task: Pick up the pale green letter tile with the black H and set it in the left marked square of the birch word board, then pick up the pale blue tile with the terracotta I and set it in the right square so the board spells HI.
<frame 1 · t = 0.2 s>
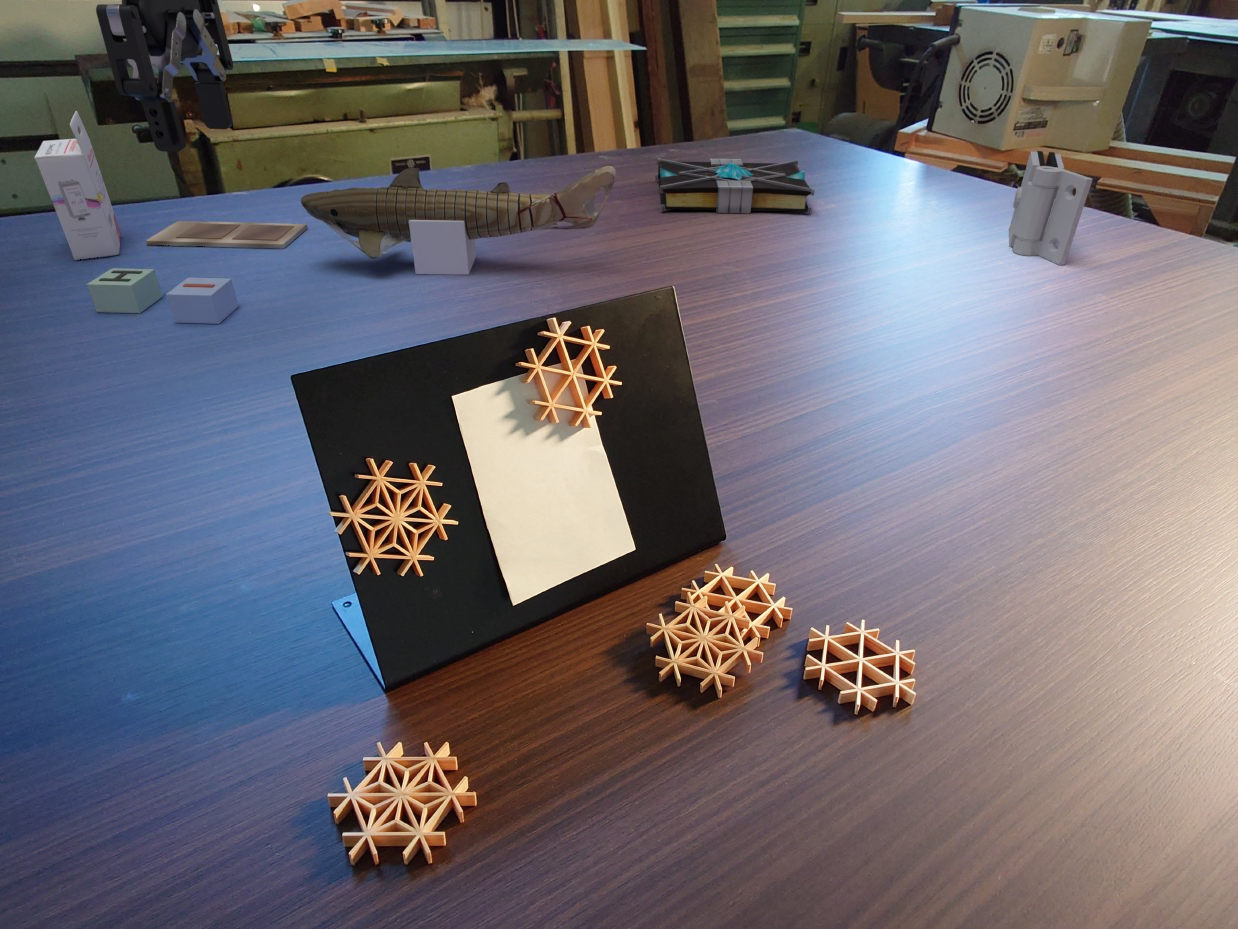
hand: (197, 138, 69), 18 cm above the table, tool pointing down, fingers open, 8 cm apart
ink cartridge box: (98, 249, 98), on the table
hinge: (1033, 247, 102), on the table
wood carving: (465, 266, 94), on the table
word board: (229, 236, 102), on the table
book: (729, 199, 119), on the table
tile I: (207, 314, 81), on the table
tile H: (130, 304, 83), on the table
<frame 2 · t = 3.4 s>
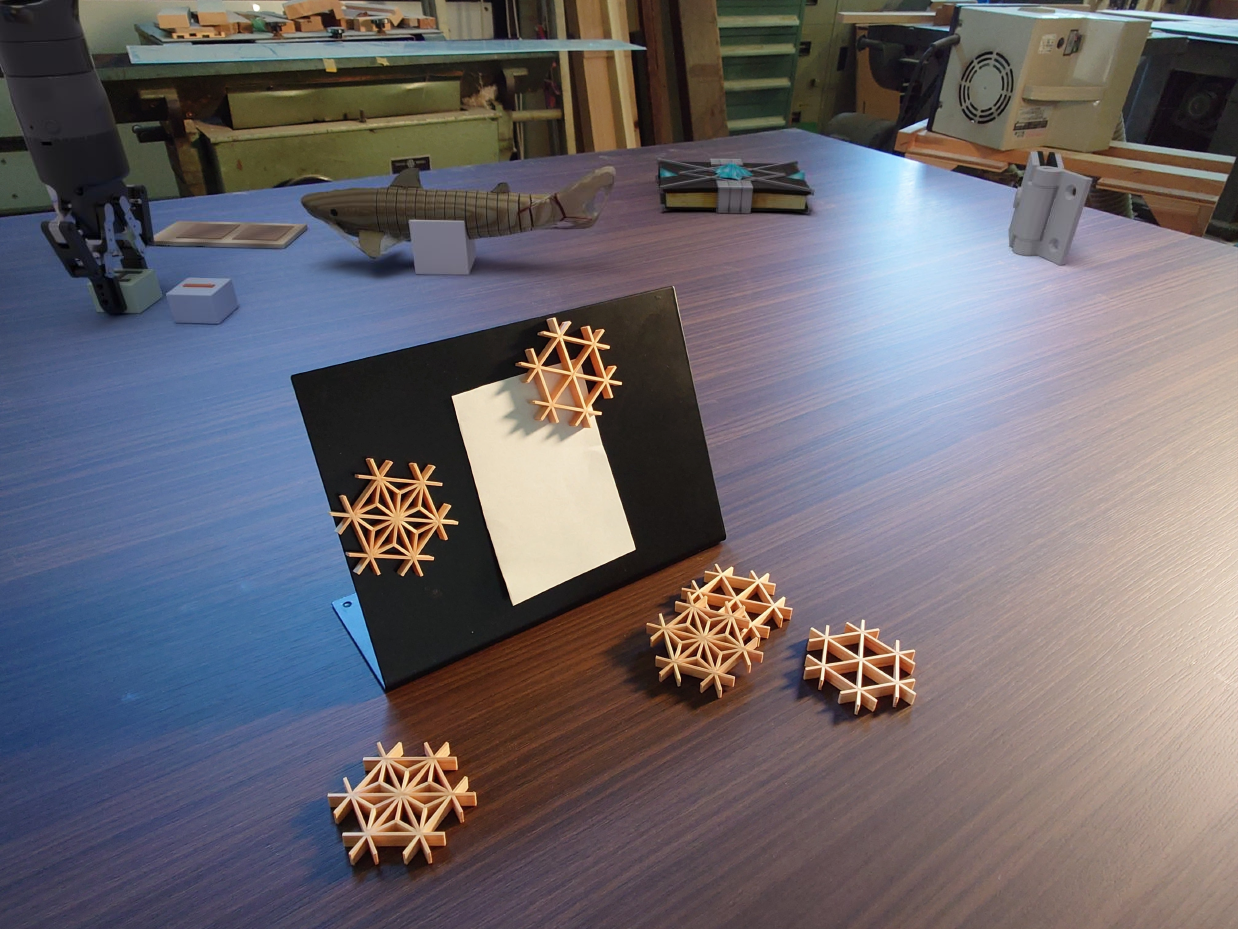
hand: (129, 301, 83), 0 cm above the table, tool pointing down, fingers closed on tile H, 4 cm apart
tile H: (130, 304, 83), on the table, touching gripper
everything else where it was.
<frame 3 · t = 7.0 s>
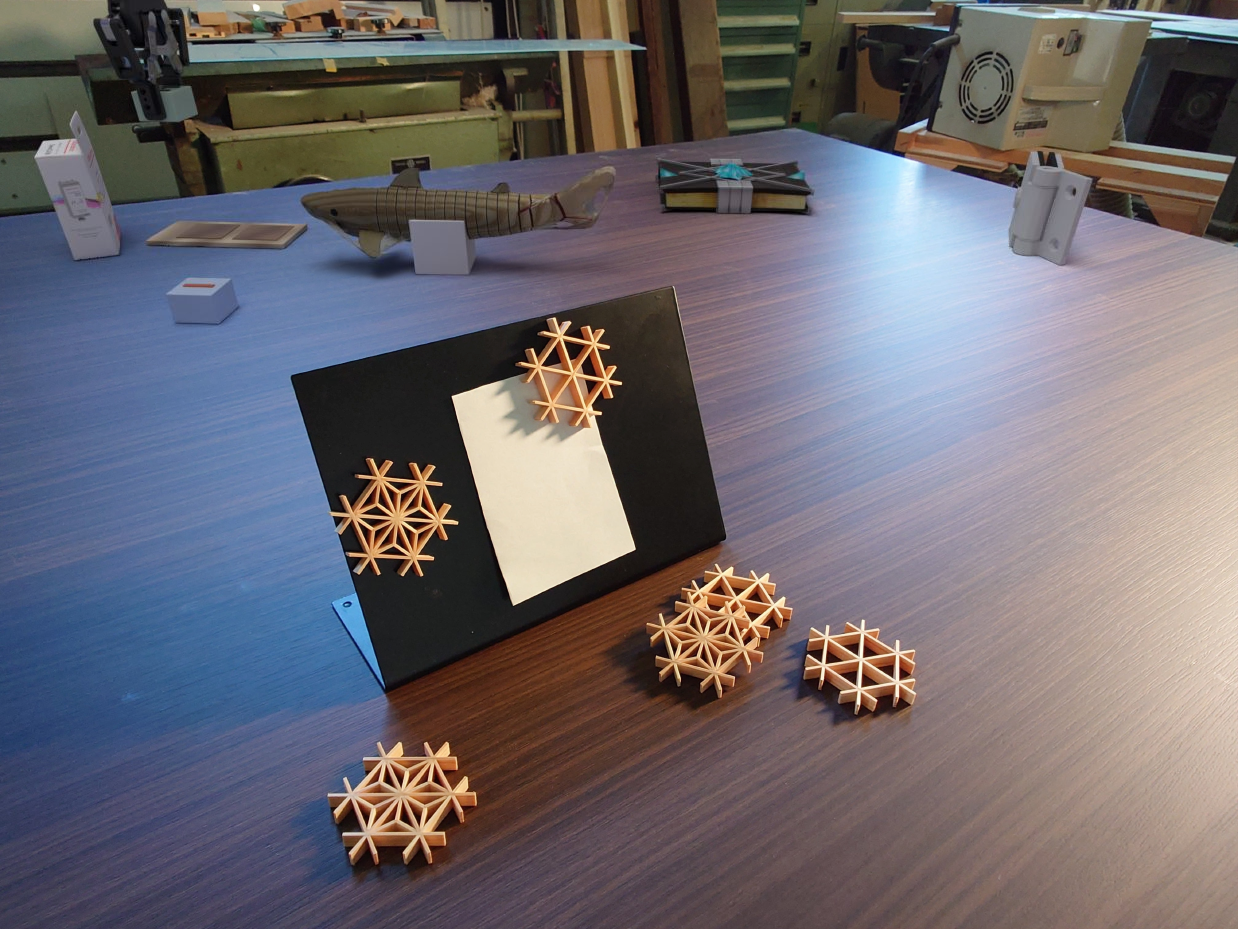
hand: (168, 114, 92), 15 cm above the table, tool pointing down, fingers closed on tile H, 4 cm apart
tile H: (169, 117, 92), point 14 cm above the table, touching gripper
everything else where it was.
when the fingers open (1 cm above the table, at t = 10.4 s): tile H stays where it is, resting on word board.
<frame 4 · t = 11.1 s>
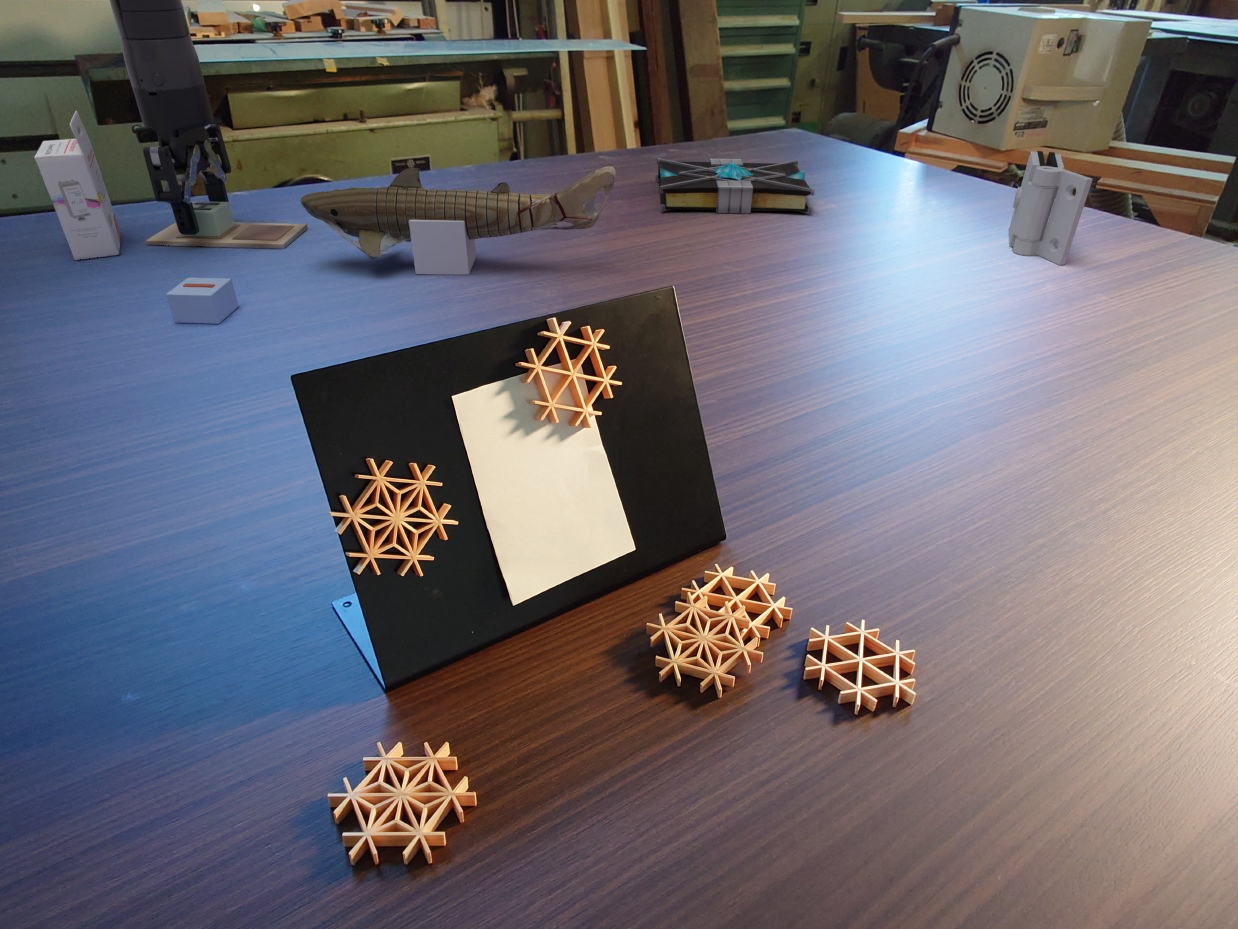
hand: (206, 223, 101), 2 cm above the table, tool pointing down, fingers open, 8 cm apart
tile H: (209, 230, 101), point 1 cm above the table, touching word board
everything else where it was.
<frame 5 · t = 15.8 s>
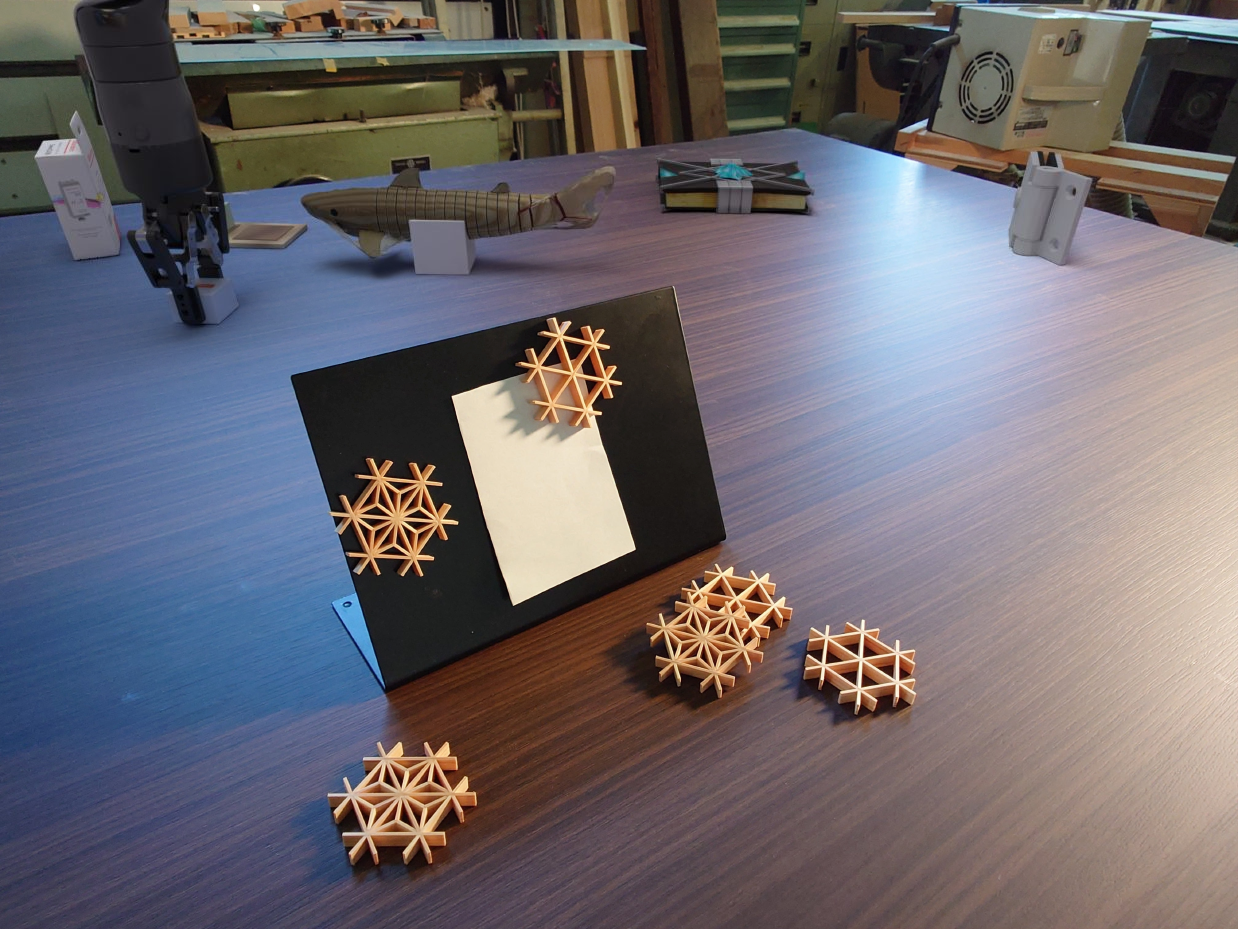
hand: (206, 311, 81), 0 cm above the table, tool pointing down, fingers closed on tile I, 4 cm apart
tile I: (207, 314, 81), on the table, touching gripper
everything else where it was.
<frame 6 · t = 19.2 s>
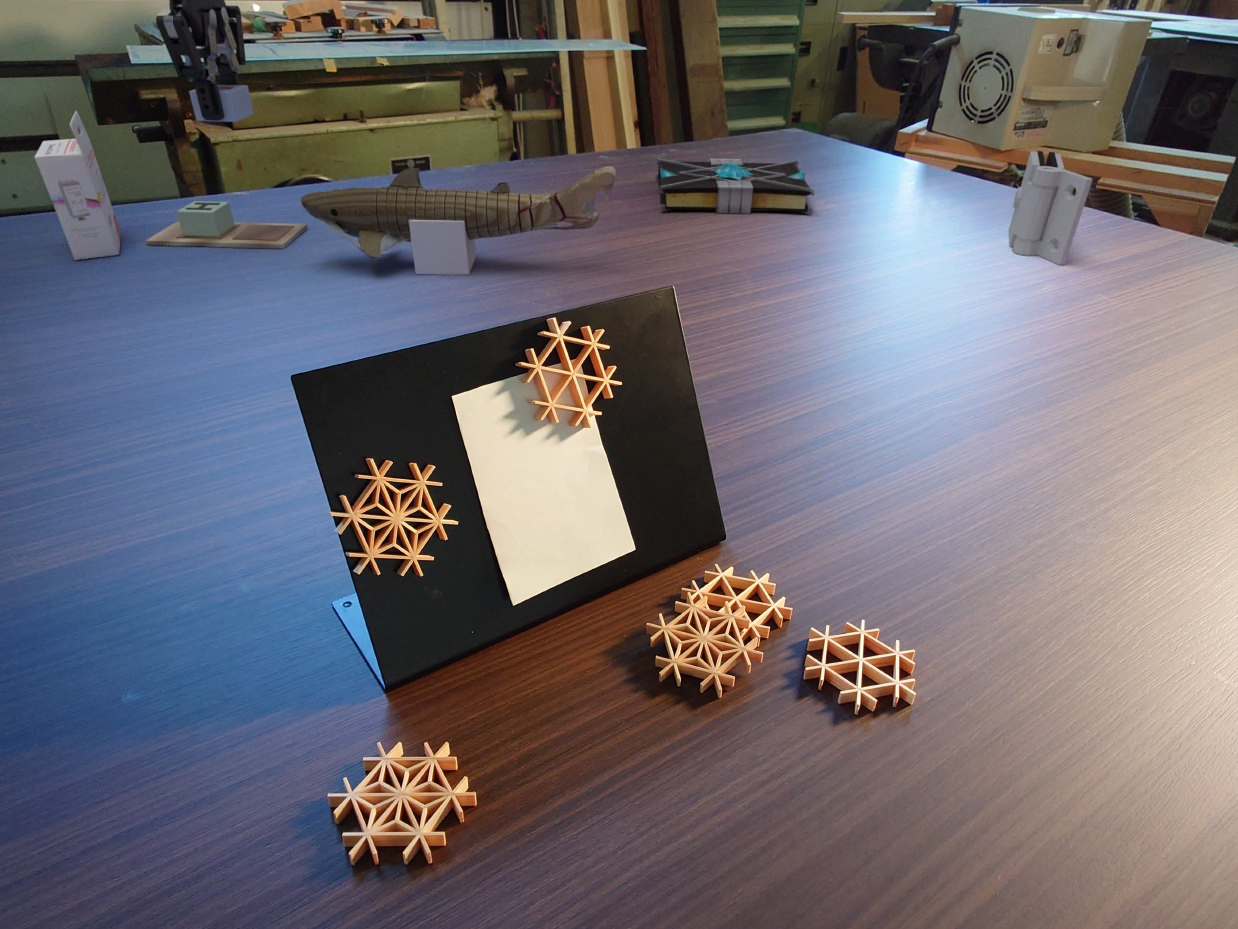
hand: (224, 114, 90), 15 cm above the table, tool pointing down, fingers closed on tile I, 4 cm apart
tile I: (225, 117, 90), point 15 cm above the table, touching gripper
everything else where it was.
when the fingers open (1 cm above the table, at t = 22.9 s): tile I stays where it is, resting on word board.
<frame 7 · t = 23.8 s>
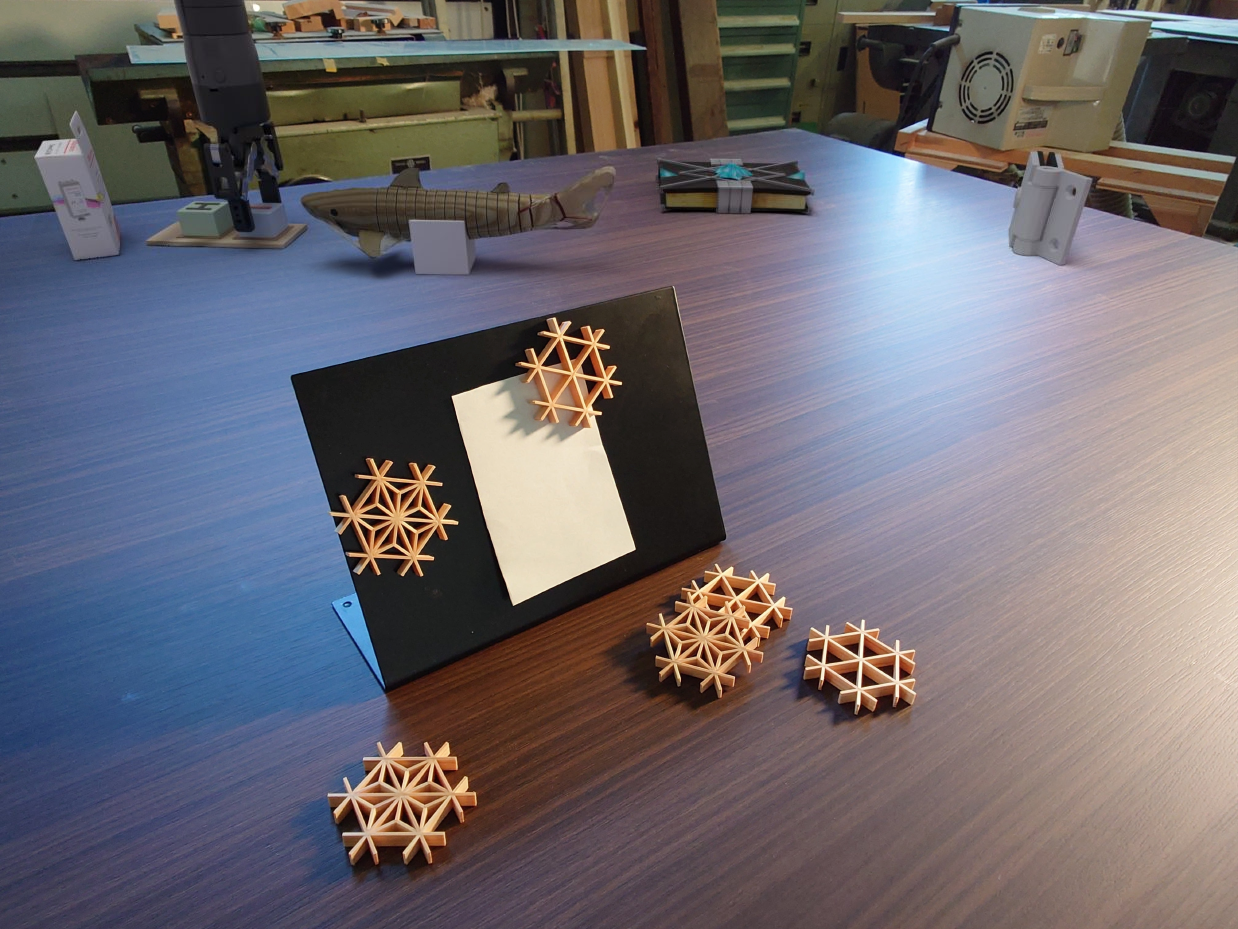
hand: (260, 220, 100), 2 cm above the table, tool pointing down, fingers open, 8 cm apart
tile I: (264, 231, 101), point 1 cm above the table, touching word board
everything else where it was.
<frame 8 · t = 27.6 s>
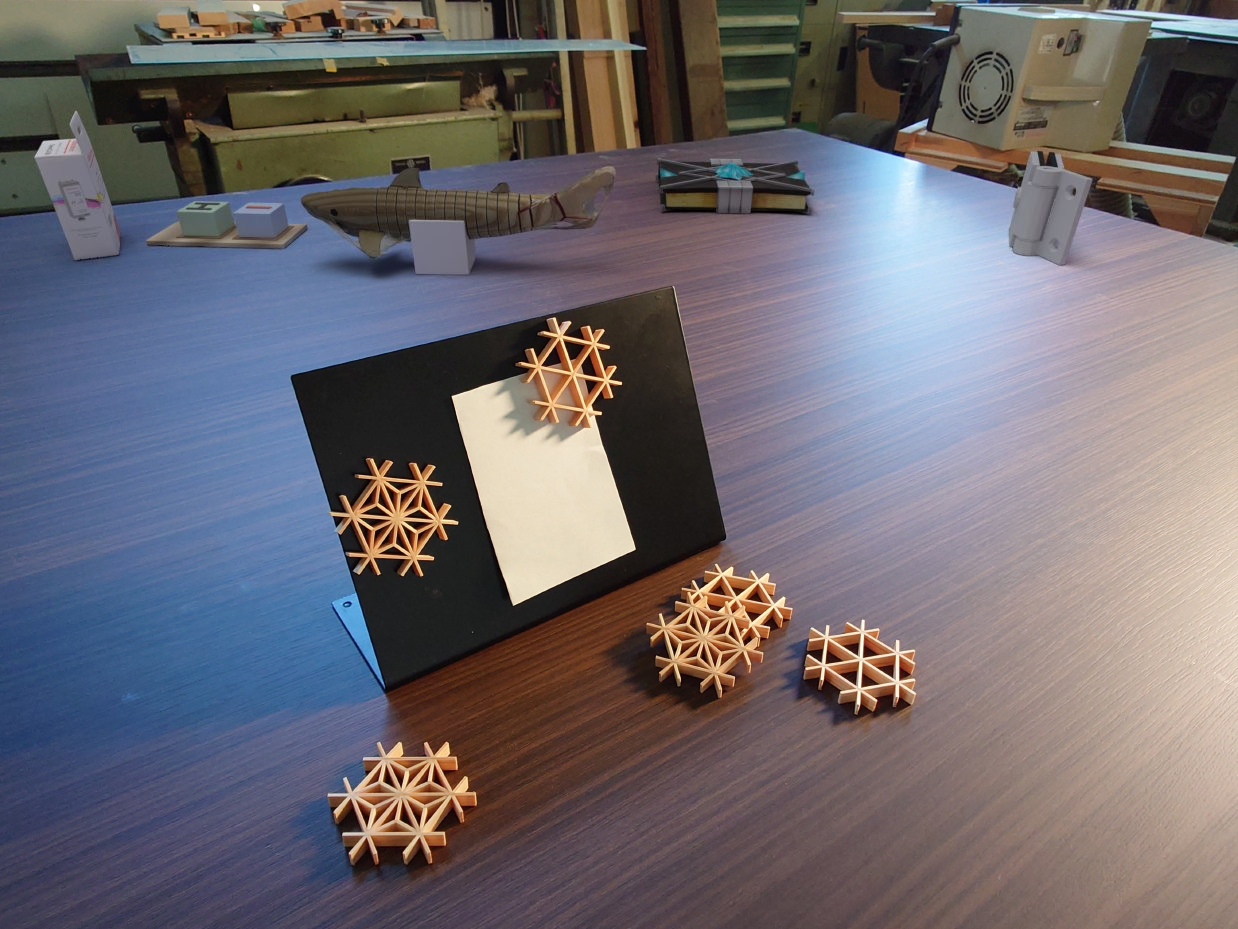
nothing on the table moved.
at the end: tile H 0.1 cm from the target spot on the word board, point 0.7 cm above the word board's base; tile I 0.1 cm from the target spot on the word board, point 0.7 cm above the word board's base; tile I tilted 0° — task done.
